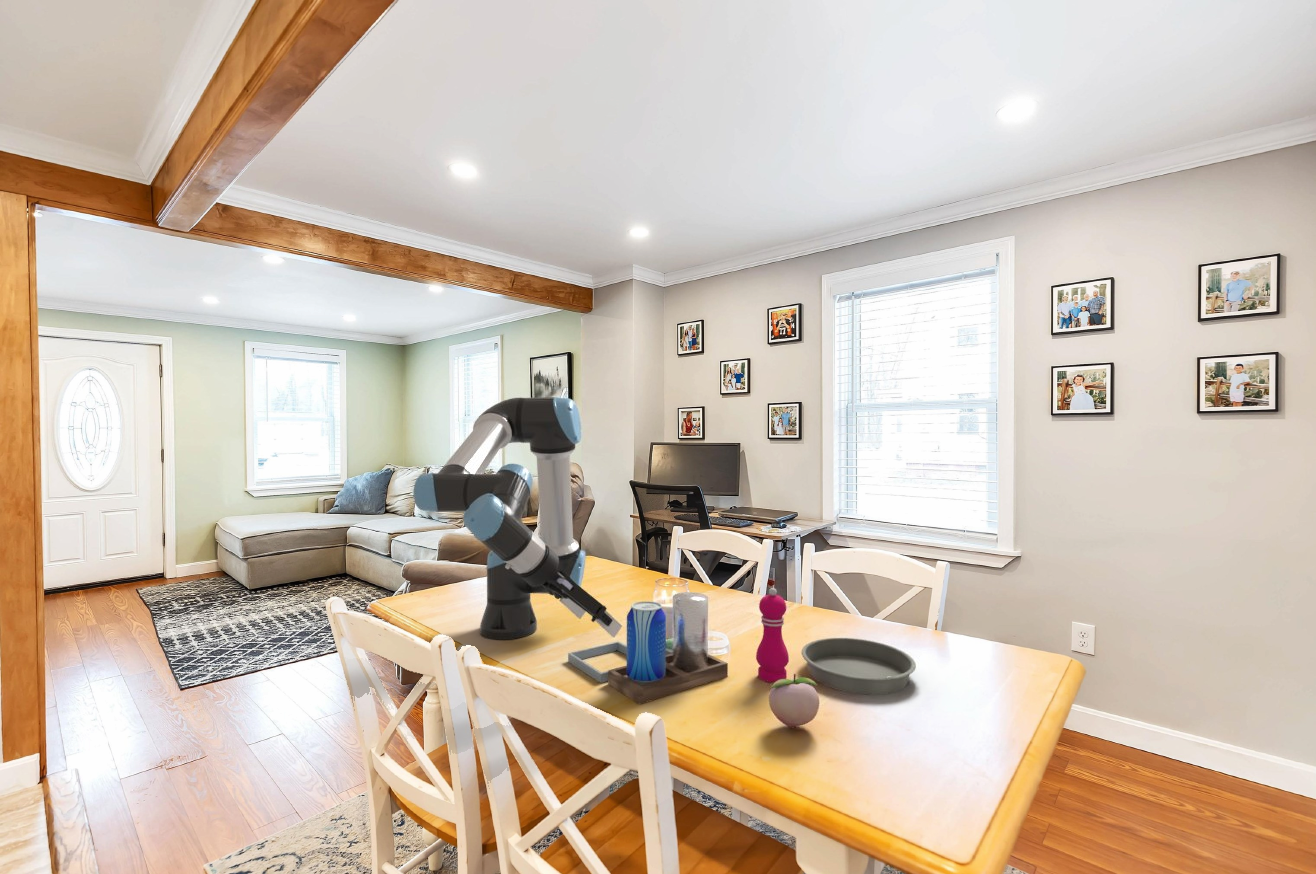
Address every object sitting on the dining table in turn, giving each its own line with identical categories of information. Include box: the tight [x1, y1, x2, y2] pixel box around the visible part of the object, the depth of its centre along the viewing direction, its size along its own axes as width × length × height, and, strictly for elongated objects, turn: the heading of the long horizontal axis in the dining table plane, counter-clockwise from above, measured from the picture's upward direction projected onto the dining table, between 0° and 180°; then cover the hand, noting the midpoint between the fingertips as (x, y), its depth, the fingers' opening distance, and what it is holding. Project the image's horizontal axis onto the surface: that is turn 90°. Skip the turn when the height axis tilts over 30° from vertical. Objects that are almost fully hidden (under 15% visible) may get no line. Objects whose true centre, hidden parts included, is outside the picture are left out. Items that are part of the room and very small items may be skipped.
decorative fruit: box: [768, 673, 820, 729], centre depth 112 cm, size 9×8×10 cm
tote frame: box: [567, 640, 627, 684], centre depth 142 cm, size 15×14×2 cm
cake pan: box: [801, 637, 917, 695], centre depth 137 cm, size 25×25×4 cm
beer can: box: [626, 600, 667, 686], centre depth 130 cm, size 8×8×16 cm
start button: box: [666, 637, 673, 650], centre depth 147 cm, size 4×4×4 cm
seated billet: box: [672, 591, 709, 673], centre depth 137 cm, size 8×8×16 cm
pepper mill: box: [755, 587, 790, 684], centre depth 135 cm, size 7×7×20 cm
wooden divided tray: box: [607, 653, 729, 705], centre depth 133 cm, size 12×24×3 cm, turn 126°
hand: (599, 622), depth 124 cm, fingers open, 13 cm apart
